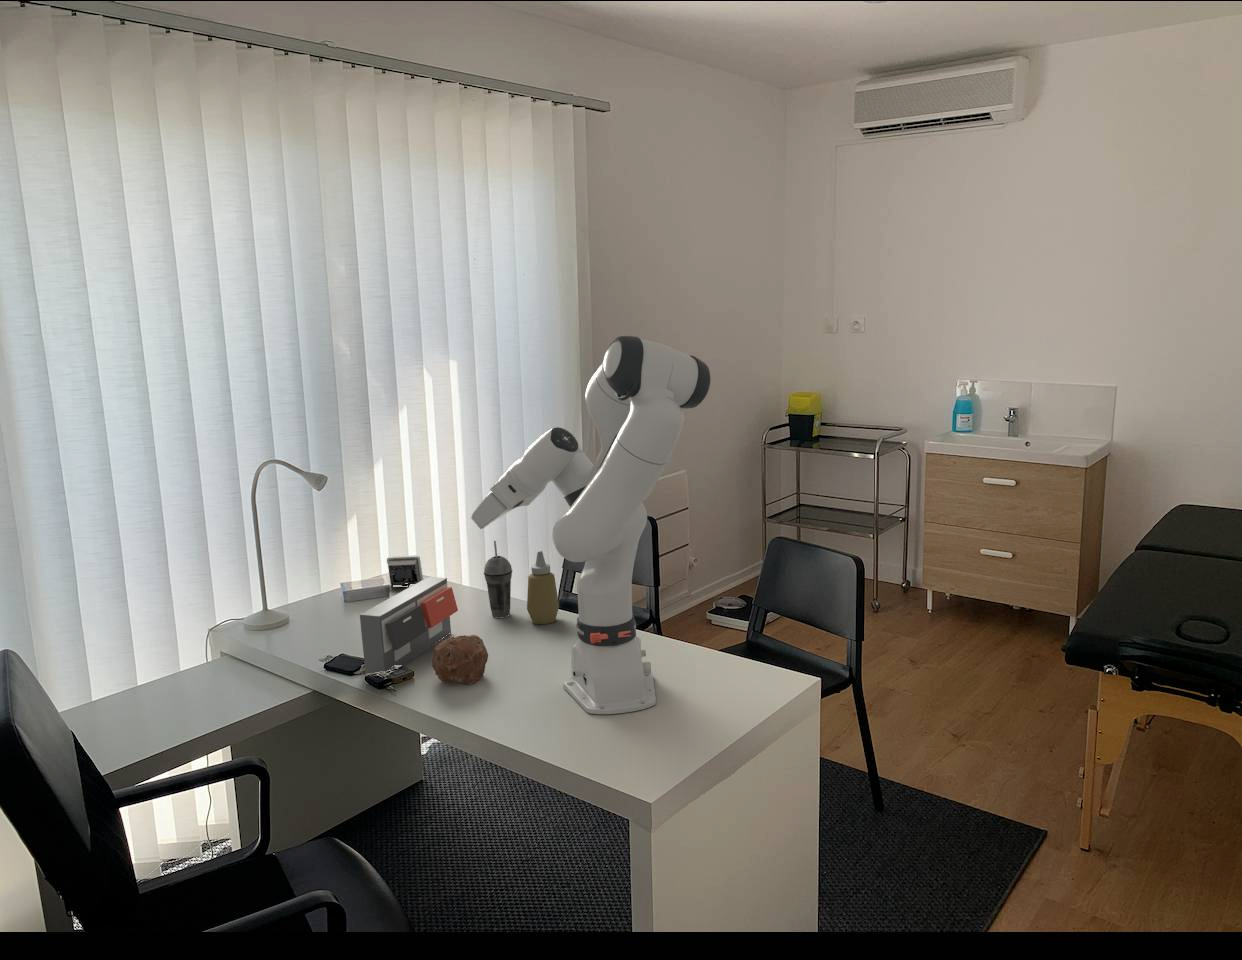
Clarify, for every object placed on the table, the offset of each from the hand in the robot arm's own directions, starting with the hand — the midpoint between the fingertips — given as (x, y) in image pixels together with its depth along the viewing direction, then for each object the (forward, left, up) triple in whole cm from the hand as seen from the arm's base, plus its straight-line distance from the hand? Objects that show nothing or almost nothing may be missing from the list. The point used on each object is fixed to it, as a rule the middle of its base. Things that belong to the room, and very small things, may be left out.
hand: (481, 525), depth 209 cm
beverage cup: (+22, -4, -29) cm, 37 cm away
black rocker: (-6, +18, -23) cm, 30 cm away
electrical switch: (+56, +20, -30) cm, 67 cm away
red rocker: (+6, +10, -23) cm, 26 cm away
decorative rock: (-17, +8, -30) cm, 35 cm away
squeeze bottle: (+14, -14, -29) cm, 36 cm away
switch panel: (+2, +18, -29) cm, 34 cm away
